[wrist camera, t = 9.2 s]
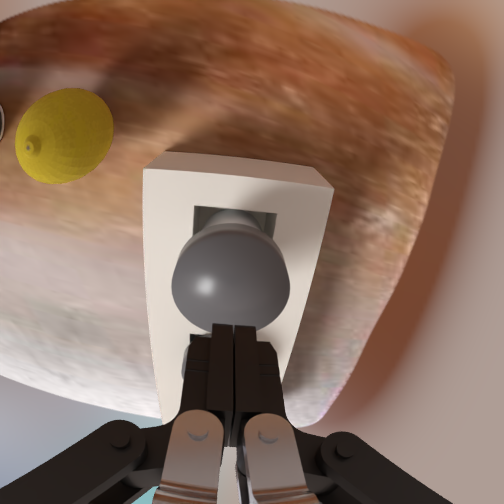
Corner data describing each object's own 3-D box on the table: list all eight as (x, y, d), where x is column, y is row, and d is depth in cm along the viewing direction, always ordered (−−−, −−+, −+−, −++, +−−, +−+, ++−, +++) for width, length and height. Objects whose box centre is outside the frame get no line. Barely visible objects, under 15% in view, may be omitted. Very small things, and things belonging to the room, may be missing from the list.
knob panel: (258, 403, 32) (261, 440, 28) (170, 396, 31) (164, 433, 27) (313, 167, 20) (334, 188, 16) (164, 151, 19) (143, 168, 15)
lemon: (143, 139, 19) (94, 168, 12) (82, 177, 20) (21, 221, 13) (110, 72, 16) (45, 67, 9) (50, 115, 17) (-22, 135, 10)
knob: (268, 278, 20) (278, 338, 15) (186, 270, 19) (172, 330, 15) (283, 200, 17) (301, 244, 13) (190, 190, 17) (171, 232, 12)
